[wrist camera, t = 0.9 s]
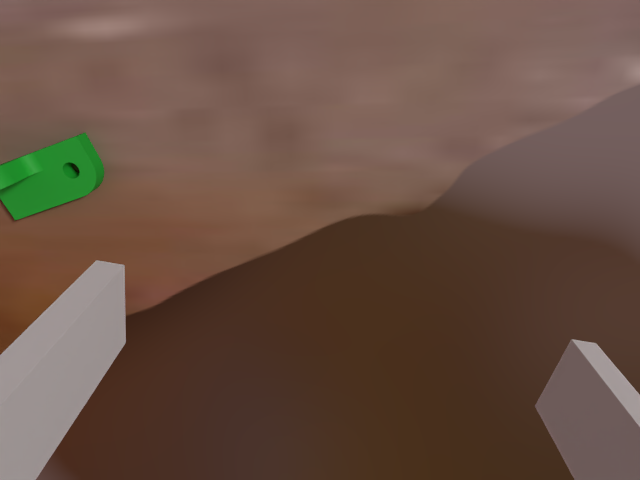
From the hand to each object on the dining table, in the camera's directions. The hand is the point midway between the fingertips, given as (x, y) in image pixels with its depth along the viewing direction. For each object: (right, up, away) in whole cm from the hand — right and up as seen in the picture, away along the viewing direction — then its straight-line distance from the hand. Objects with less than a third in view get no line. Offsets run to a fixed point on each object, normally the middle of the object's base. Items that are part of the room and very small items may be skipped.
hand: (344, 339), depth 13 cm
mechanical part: (-31, +10, +37) cm, 49 cm away
